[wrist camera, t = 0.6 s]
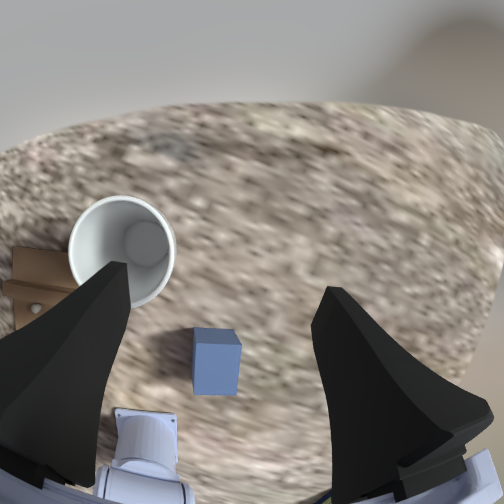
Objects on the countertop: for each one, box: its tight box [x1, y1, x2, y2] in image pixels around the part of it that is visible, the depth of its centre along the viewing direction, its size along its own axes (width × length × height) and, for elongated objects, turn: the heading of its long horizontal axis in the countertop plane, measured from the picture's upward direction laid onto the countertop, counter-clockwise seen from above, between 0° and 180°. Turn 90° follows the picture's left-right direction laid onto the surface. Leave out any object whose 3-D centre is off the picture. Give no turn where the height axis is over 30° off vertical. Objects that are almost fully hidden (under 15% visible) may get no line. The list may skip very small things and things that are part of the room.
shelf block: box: [191, 327, 242, 395], centre depth 30 cm, size 6×4×5 cm
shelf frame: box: [2, 246, 79, 330], centre depth 26 cm, size 16×12×4 cm
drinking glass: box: [68, 196, 177, 308], centre depth 23 cm, size 7×7×15 cm
